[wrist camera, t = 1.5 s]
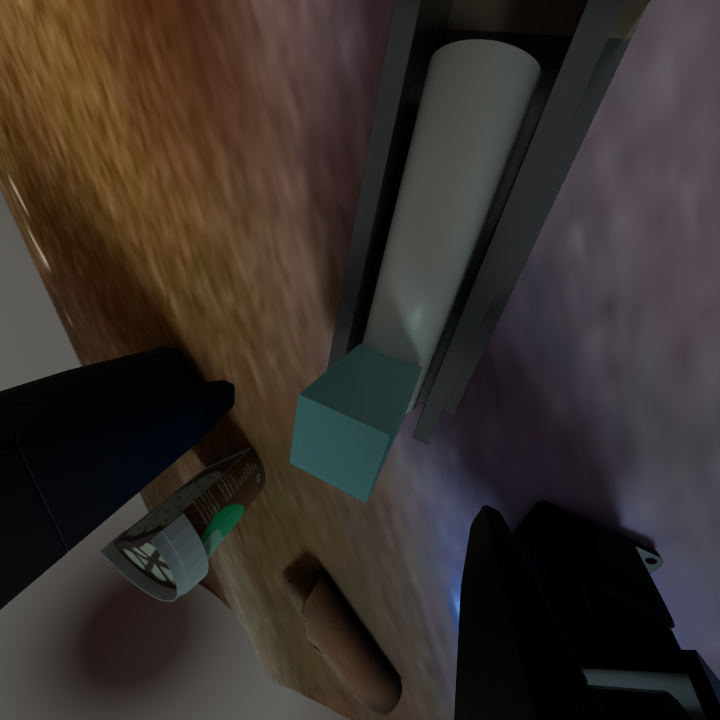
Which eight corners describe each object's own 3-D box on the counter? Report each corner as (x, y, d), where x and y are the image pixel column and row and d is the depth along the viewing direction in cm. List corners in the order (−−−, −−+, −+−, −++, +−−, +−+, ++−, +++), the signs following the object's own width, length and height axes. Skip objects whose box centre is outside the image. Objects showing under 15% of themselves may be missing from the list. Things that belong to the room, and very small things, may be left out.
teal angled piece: (422, 390, 16) (374, 507, 9) (366, 368, 17) (282, 458, 10) (531, 104, 10) (651, -226, 3) (437, 93, 11) (357, -181, 4)
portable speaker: (142, 380, 30) (-292, 552, 13) (162, 320, 25) (-486, 473, 8) (197, 436, 30) (-170, 684, 13) (228, 387, 25) (-295, 683, 8)
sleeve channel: (455, 406, 17) (447, 453, 13) (341, 361, 19) (306, 390, 15) (617, 56, 10) (704, -62, 6) (407, 41, 12) (373, -53, 8)
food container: (231, 510, 33) (143, 604, 24) (200, 469, 32) (98, 551, 24) (298, 493, 27) (211, 611, 18) (261, 442, 26) (153, 540, 17)
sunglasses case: (274, 567, 34) (258, 625, 27) (323, 537, 34) (319, 588, 27) (350, 670, 36) (352, 746, 30) (396, 642, 36) (408, 712, 30)
